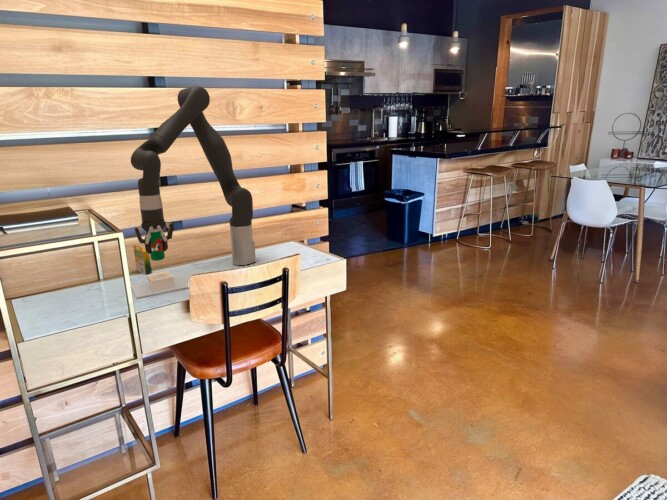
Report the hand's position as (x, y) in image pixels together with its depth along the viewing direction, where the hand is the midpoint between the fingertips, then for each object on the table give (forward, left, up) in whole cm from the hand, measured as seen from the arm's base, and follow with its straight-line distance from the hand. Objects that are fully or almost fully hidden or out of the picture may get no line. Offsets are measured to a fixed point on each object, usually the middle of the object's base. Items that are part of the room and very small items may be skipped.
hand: (157, 251), depth 172 cm
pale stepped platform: (0, 0, -14) cm, 14 cm away
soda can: (0, 0, -3) cm, 3 cm away
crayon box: (+2, -22, -14) cm, 26 cm away
